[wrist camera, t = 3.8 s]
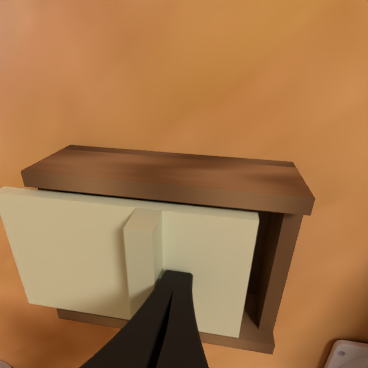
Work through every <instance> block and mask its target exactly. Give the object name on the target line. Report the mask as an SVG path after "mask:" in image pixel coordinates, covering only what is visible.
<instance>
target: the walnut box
mask: <svg viewBox="0 0 368 368" xmlns="http://www.w3.org/2000/svg"><path fill="white" fill-rule="evenodd" d="M21 174H22V178H23V182H24V186H25V187H34V188H38V190H44V191H54V192H64V193H73V194H83V195H93V196H103V197H112V198H122V199H132V200H142V201H151V202H161V203H171V204H181V205H190V206H200V207H210V208H220V209H229V210H239V211H249V212H258V217H259V225H258V230H257V236H256V242H255V247H254V253H253V259H252V264H251V270H250V275H249V281H248V287H247V292H246V298H245V304H244V309H243V315H242V321H241V326H240V332H239V338H236V337H230V336H224V335H218V334H212V333H206V332H200V331H199V335H200V339H201V342H202V343H208V344H214V345H220V346H226V347H232V348H237V349H243V350H249V351H255V352H261V353H267V354H273V350H274V347H275V343H274V337H273V329H274V325H275V321H276V317H277V314H278V310H279V306H280V302H281V298H282V294H283V290H284V287H285V283H286V279H287V275H288V271H289V267H290V264H291V260H292V256H293V252H294V248H295V244H296V240H297V237H298V233H299V229H300V225H301V221H302V217H303V215H311V212H312V208H313V204H314V201H315V198H314V196H313V194H312V193H311V191H310V189H309V188H308V186H307V185H306V183H305V181H304V180H303V178H302V176H301V175H300V173H299V172H298V170H297V168H296V167H295V165H294V163H293V162H284V161H271V160H258V159H245V158H232V157H219V156H206V155H193V154H180V153H167V152H154V151H141V150H128V149H115V148H102V147H89V146H76V145H69V146H67V147H65V148H63V149H61V150H60V151H58V152H56V153H54V154H52V155H50V156H48V157H46V158H44V159H43V160H41V161H39V162H37V163H35V164H33V165H31V166H29V167H27V168H25V169H24V170H22V171H21ZM57 312H58V316H59V318H61V319H67V320H73V321H79V322H85V323H91V324H97V325H103V326H108V327H114V328H120V329H122V328H123V327H124V326H125V325H126V323H127V322H128V321H129V320H127V319H121V318H115V317H109V316H103V315H97V314H91V313H85V312H79V311H72V310H66V309H60V308H57Z"/></svg>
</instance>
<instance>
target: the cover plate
mask: <svg viewBox="0 0 368 368" xmlns="http://www.w3.org/2000/svg"><path fill="white" fill-rule="evenodd" d="M0 215H1V218H2V221H3V224H4V227H5V230H6V234H7V237H8V240H9V243H10V246H11V249H12V252H13V255H14V258H15V262H16V265H17V268H18V271H19V274H20V277H21V280H22V283H23V286H24V290H25V293H26V296H27V299H28V302H29V303H30V304H36V305H42V306H48V307H54V308H60V309H66V310H72V311H79V312H85V313H91V314H97V315H103V316H109V317H115V318H121V319H127V320H130V319H131V318H132V317H133V315H134V314H135V313H136V312H137V311H138V309H139V308H140V307H141V306H142V304H143V303H144V302H145V300H146V299H147V298H148V296H149V295H150V294H151V292H152V291H153V290H154V288H155V287H156V285H157V284H158V282H159V281H160V279H161V277H162V276H163V274H164V272H165V271H166V270H173V271H181V272H188V273H191V274H192V275H193V285H192V294H193V304H194V310H195V317H196V322H197V326H198V331H200V332H206V333H212V334H218V335H224V336H230V337H236V338H239V332H240V326H241V321H242V315H243V309H244V304H245V298H246V292H247V287H248V281H249V275H250V270H251V264H252V259H253V253H254V247H255V242H256V236H257V230H258V225H259V217H258V212H249V211H239V210H229V209H220V208H210V207H200V206H190V205H181V204H171V203H161V202H151V201H142V200H132V199H122V198H112V197H103V196H93V195H83V194H73V193H64V192H54V191H44V190H34V189H25V188H15V187H5V186H4V187H2V188H1V189H0Z"/></svg>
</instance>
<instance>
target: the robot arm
mask: <svg viewBox="0 0 368 368" xmlns="http://www.w3.org/2000/svg"><path fill="white" fill-rule="evenodd" d="M192 285H193V275H192V274H191V273H188V272H181V271H173V270H166V271H165V272H164V274H163V276H162V277H161V279H160V281H159V282H158V284H157V285H156V287H155V288H154V290H153V291H152V292H151V294H150V295H149V296H148V298H147V299H146V300H145V302H144V303H143V304H142V306H141V307H140V308H139V309H138V311H137V312H136V313H135V314H134V315H133V317H132V318H131V319H130V320H129V321H128V322H127V323H126V325H125V326H124V327H123V328H122V329H121V330H120V331H119V332H118V333H117V334H116V335H115V336H114V337H113V338H112V339H111V340H110V341H109V342H108V343H107V344H106V345H105V346H104V347H103V348H102V349H101V350H99V351H98V352H97V353H96V354H95V355H94V356H93V357H92V358H90V359H89V360H88V361H87V362H85V363H84V364H83V365H82V366H81V367H79V368H209V367H208V364H207V360H206V357H205V354H204V350H203V347H202V343H201V339H200V335H199V331H198V326H197V322H196V317H195V310H194V304H193V294H192ZM324 368H368V344H366V343H359V342H353V341H347V340H338V341H336V342H335V343H334V345H333V348H332V350H331V352H330V355H329V357H328V359H327V362H326V364H325V366H324Z"/></svg>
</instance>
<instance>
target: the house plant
mask: <svg viewBox="0 0 368 368" xmlns="http://www.w3.org/2000/svg"><path fill="white" fill-rule="evenodd" d="M0 368H12V367H11V366H10V365H8V364H7V363H5V362H3V361H1V360H0Z"/></svg>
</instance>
